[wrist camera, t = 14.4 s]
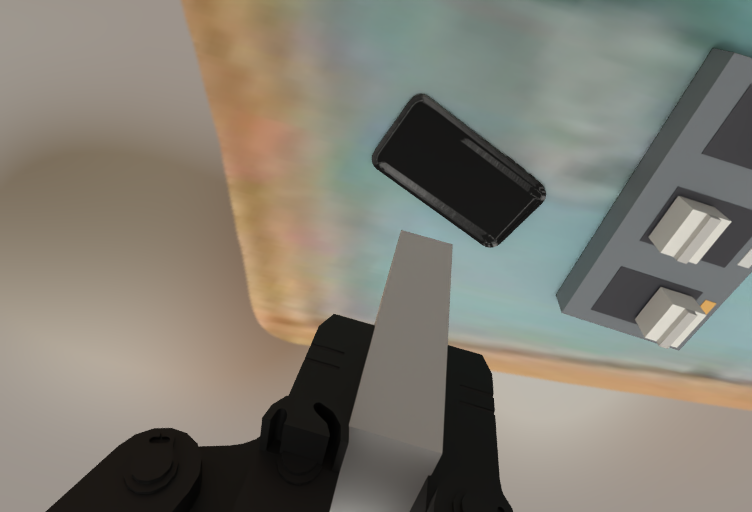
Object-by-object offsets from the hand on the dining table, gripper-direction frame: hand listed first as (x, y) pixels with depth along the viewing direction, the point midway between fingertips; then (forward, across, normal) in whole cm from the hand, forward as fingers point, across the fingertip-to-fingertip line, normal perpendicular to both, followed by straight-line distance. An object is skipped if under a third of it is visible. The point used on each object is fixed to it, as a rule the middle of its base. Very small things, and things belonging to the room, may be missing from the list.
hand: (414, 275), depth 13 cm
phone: (+29, +3, -7) cm, 30 cm away
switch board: (+28, +23, -5) cm, 37 cm away
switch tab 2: (+25, +25, -13) cm, 37 cm away
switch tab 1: (+25, +21, -4) cm, 33 cm away
